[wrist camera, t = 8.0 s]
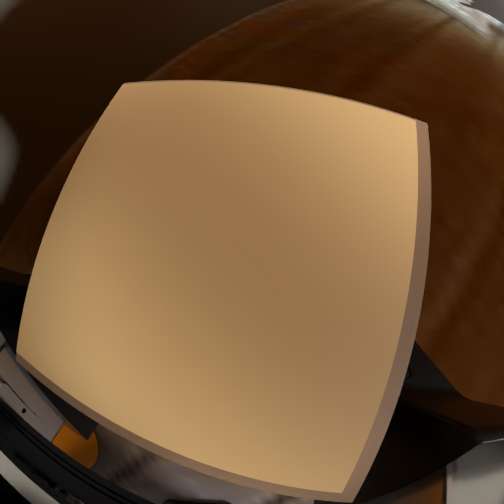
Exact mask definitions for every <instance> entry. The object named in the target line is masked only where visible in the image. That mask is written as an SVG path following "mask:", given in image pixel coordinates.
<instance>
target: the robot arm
mask: <svg viewBox="0 0 504 504" xmlns="http://www.w3.org/2000/svg"><path fill="white" fill-rule="evenodd" d="M31 275H32V273H29V274H28V273H19V272H16V271H13V270H10V269H8V268H5V267H2V266H0V504H73V503H74V504H154V503H152V502H150V501H148V500H145V499H143V498H141V497H139V496H137V495H135V494H133V493H131V492H129V491H127V490H125V489H123V488H121V487H119V486H117V485H115V484H114V483H112V482H110V481H108V480H107V479H105V478H103V477H101V476H100V475H98V474H96V473H95V472H93V471H91V470H90V469H88V468H87V467H85V466H84V465H82V464H81V463H79V462H78V461H76V460H75V459H73V458H72V457H70V456H69V455H67V454H66V453H65V452H63V451H62V450H61V449H59V448H58V447H57V446H55V445H54V444H53V443H52V441H53V440H54V438H55V437H56V435H57V434H58V432H59V431H60V429H61V427H62V426H63V424H64V425H65V426H66V427H68V428H69V429H71V430H72V431H74V432H75V433H77V434H78V435H80V436H81V437H83V438H84V439H86V440H88V439H89V438H90V436H91V435H92V433H93V431H94V429H95V427H96V425H97V424H98V423H97V422H96V421H94V420H93V419H91V418H89V417H88V416H86V415H85V414H83V413H82V412H80V411H79V410H77V409H76V408H74V407H73V406H72V405H70V404H69V403H67V402H66V401H65V400H63V399H62V398H61V397H59V396H58V395H57V394H55V393H54V392H53V391H51V390H50V389H49V388H48V387H46V386H45V385H44V384H43V383H41V382H40V381H39V380H38V379H37V378H35V377H34V376H33V375H32V374H31V373H30V372H28V371H27V370H26V369H25V368H24V367H23V366H22V365H21V364H19V363H18V362H17V361H16V354H17V352H16V349H17V342H18V335H19V329H20V323H21V318H22V313H23V308H24V303H25V299H26V294H27V290H28V286H29V282H30V279H31ZM163 504H206V503H193V502H183V501H174V500H165V501H164V503H163ZM314 504H504V407H500V406H495V405H490V404H486V403H481V402H477V401H473V400H470V399H468V398H466V397H464V396H462V395H461V394H460V393H459V392H458V391H457V390H456V389H455V388H454V387H453V386H452V385H451V383H450V382H449V381H448V380H447V379H446V377H445V376H444V375H443V374H442V373H441V372H440V370H439V369H438V368H437V367H436V366H435V365H434V363H433V362H432V361H431V360H430V359H429V357H428V356H427V355H426V354H425V353H424V352H423V350H422V349H421V348H420V346H419V345H418V344H417V343H416V341H415V340H414V345H413V349H412V353H411V357H410V361H409V364H408V368H407V372H406V375H405V379H404V382H403V385H402V389H401V392H400V395H399V398H398V401H397V404H396V407H395V410H394V412H393V415H392V418H391V421H390V423H389V426H388V429H387V431H386V434H385V436H384V439H383V441H382V443H381V446H380V448H379V450H378V453H377V455H376V457H375V459H374V461H373V464H372V466H371V468H370V470H369V472H368V474H367V476H366V478H365V480H364V482H363V484H362V486H361V488H360V489H359V491H358V493H357V495H356V497H355V499H354V500H353V502H352V503H348V502H333V501H323V500H314Z"/></svg>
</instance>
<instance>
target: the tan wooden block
mask: <svg viewBox="0 0 504 504" xmlns="http://www.w3.org/2000/svg"><path fill="white" fill-rule="evenodd" d="M430 221H431V165H430V148H429V136H428V126H427V123H424V122H422V121H419V120H416V119H413V118H411V117H408V116H405V115H402V114H399V113H396V112H393V111H389V110H386V109H383V108H379V107H376V106H372V105H369V104H365V103H361V102H357V101H354V100H349V99H345V98H341V97H337V96H332V95H327V94H322V93H317V92H312V91H306V90H300V89H294V88H288V87H281V86H273V85H265V84H255V83H244V82H231V81H210V80H165V81H145V82H132V83H124V84H123V85H122V87H121V88H120V89H119V91H118V92H117V94H116V95H115V97H114V98H113V100H112V101H111V102H110V104H109V105H108V107H107V108H106V110H105V112H104V113H103V115H102V116H101V118H100V120H99V121H98V123H97V124H96V126H95V128H94V129H93V131H92V133H91V135H90V136H89V138H88V140H87V142H86V143H85V145H84V147H83V149H82V151H81V152H80V154H79V156H78V158H77V160H76V162H75V164H74V166H73V168H72V170H71V172H70V174H69V176H68V178H67V180H66V182H65V185H64V187H63V189H62V191H61V193H60V196H59V198H58V200H57V203H56V205H55V208H54V210H53V212H52V215H51V218H50V220H49V223H48V225H47V228H46V231H45V234H44V236H43V239H42V242H41V245H40V248H39V251H38V254H37V258H36V261H35V264H34V268H33V271H32V275H31V279H30V282H29V286H28V290H27V294H26V299H25V303H24V308H23V313H22V318H21V323H20V329H19V335H18V342H17V349H16V352H17V354H16V361H17V362H18V363H19V364H21V365H22V366H23V367H24V368H25V369H26V370H27V371H28V372H30V373H31V374H32V375H33V376H34V377H35V378H37V379H38V380H39V381H40V382H41V383H43V384H44V385H45V386H46V387H48V388H49V389H50V390H51V391H53V392H54V393H55V394H57V395H58V396H59V397H61V398H62V399H63V400H65V401H66V402H67V403H69V404H70V405H72V406H73V407H74V408H76V409H77V410H79V411H80V412H82V413H83V414H85V415H86V416H88V417H89V418H91V419H93V420H94V421H96V422H97V423H99V424H101V425H102V426H104V427H106V428H107V429H109V430H111V431H112V432H114V433H116V434H118V435H119V436H121V437H123V438H125V439H127V440H129V441H130V442H132V443H134V444H136V445H138V446H140V447H142V448H144V449H146V450H148V451H150V452H153V453H155V454H157V455H159V456H161V457H163V458H166V459H168V460H170V461H173V462H175V463H178V464H180V465H182V466H185V467H188V468H190V469H193V470H195V471H198V472H201V473H204V474H207V475H210V476H213V477H216V478H219V479H222V480H225V481H228V482H232V483H235V484H239V485H242V486H246V487H250V488H254V489H258V490H263V491H267V492H272V493H277V494H282V495H287V496H293V497H299V498H306V499H314V500H323V501H333V502H348V503H352V502H353V500H354V499H355V497H356V495H357V493H358V491H359V489H360V488H361V486H362V484H363V482H364V480H365V478H366V476H367V474H368V472H369V470H370V468H371V466H372V464H373V461H374V459H375V457H376V455H377V453H378V450H379V448H380V446H381V443H382V441H383V439H384V436H385V434H386V431H387V429H388V426H389V423H390V421H391V418H392V415H393V412H394V410H395V407H396V404H397V401H398V398H399V395H400V392H401V389H402V385H403V382H404V379H405V375H406V372H407V368H408V364H409V361H410V357H411V353H412V349H413V345H414V340H415V336H416V331H417V326H418V321H419V316H420V311H421V305H422V299H423V293H424V286H425V279H426V271H427V262H428V251H429V239H430Z"/></svg>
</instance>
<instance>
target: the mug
mask: <svg viewBox="0 0 504 504" xmlns="http://www.w3.org/2000/svg"><path fill="white" fill-rule="evenodd" d="M52 443H53V444H54V445H55V446H57V447H58V448H59V449H61V450H62V451H63V452H65V453H66V454H67V455H69V456H70V457H72V458H73V459H75V460H76V461H78V462H79V463H81V464H82V465H84V466H85V467H87V468H88V469H89V468H90V467H91V466H92V465H94V464H95V463H96V460H97V457H98V442H97V439H96V436H95V432H94V431H93V433H92V435H91V436H90V438H89V439H88V440H86V439H84V438H83V437H81V436H80V435H78V434H77V433H75V432H74V431H72V430H71V429H69V428H68V427H66V426H65V425H64V424H63V426H62V427H61V429H60V431H59V432H58V434H57V435H56V437H55V438H54V440H53V441H52Z"/></svg>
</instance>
